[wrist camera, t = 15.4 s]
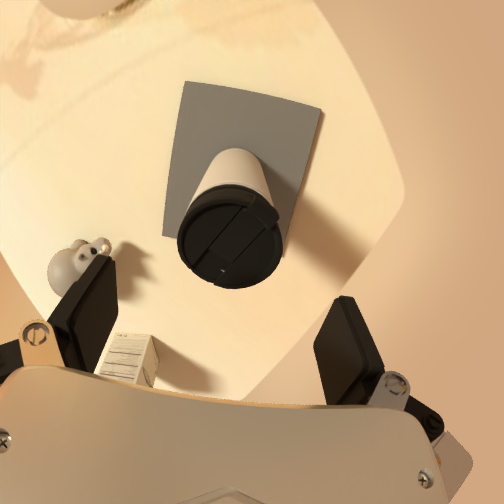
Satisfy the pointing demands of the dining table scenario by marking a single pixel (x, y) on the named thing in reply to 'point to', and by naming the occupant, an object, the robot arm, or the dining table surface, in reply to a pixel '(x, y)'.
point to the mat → (238, 144)
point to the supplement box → (131, 359)
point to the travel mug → (231, 224)
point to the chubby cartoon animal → (74, 263)
